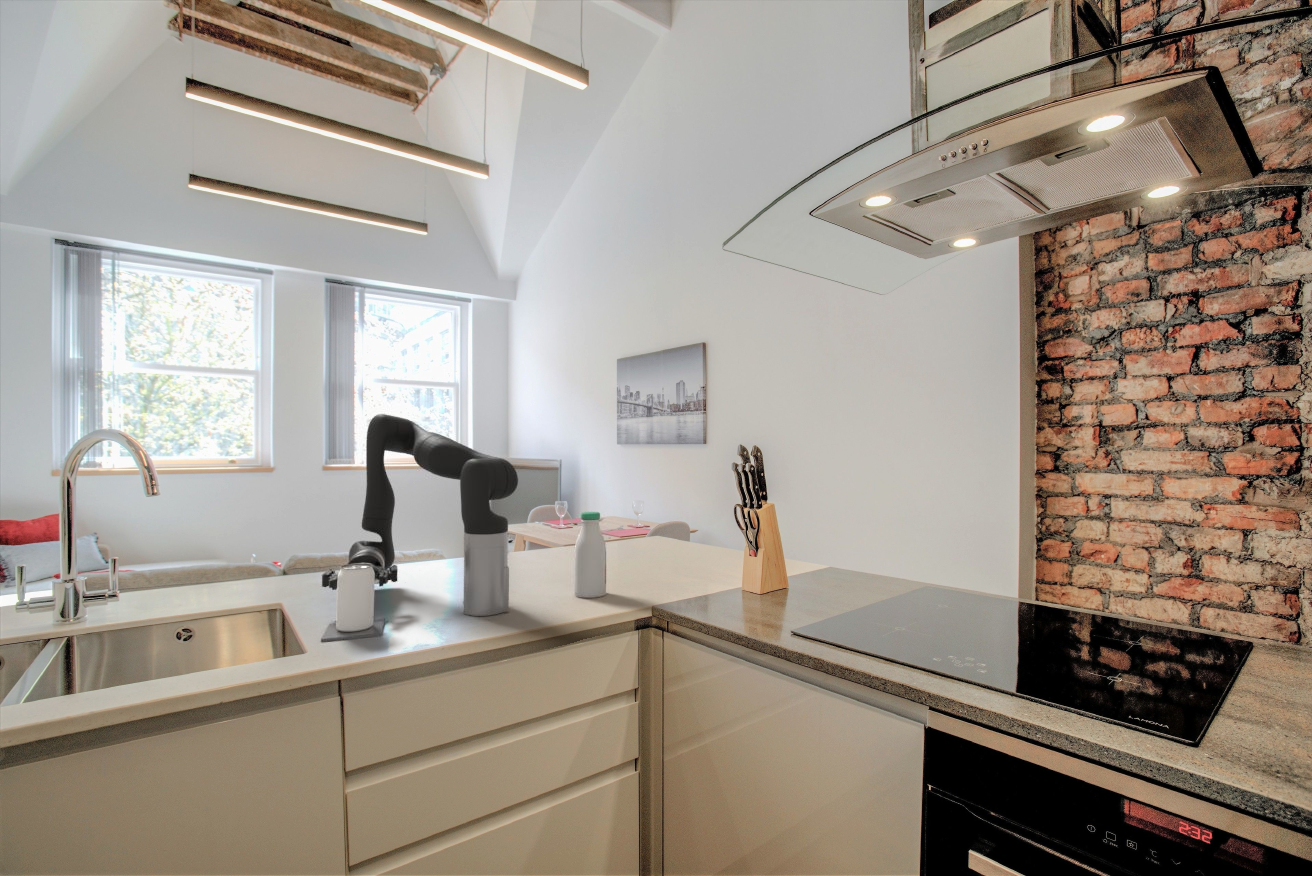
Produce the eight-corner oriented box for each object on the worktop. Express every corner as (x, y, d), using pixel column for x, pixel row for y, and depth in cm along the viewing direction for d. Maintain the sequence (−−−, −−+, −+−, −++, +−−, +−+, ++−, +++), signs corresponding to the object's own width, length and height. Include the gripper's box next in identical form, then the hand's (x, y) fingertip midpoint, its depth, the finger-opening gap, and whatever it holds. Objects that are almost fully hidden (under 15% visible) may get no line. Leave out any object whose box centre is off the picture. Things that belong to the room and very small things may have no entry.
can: (357, 634, 111) (359, 570, 111) (328, 631, 112) (329, 567, 113) (380, 624, 117) (382, 563, 118) (352, 621, 119) (354, 561, 119)
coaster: (384, 621, 121) (384, 618, 121) (380, 635, 112) (380, 633, 112) (329, 626, 118) (329, 623, 118) (320, 641, 108) (320, 639, 108)
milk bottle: (604, 598, 140) (604, 514, 140) (571, 598, 140) (572, 514, 140) (607, 591, 147) (607, 510, 148) (576, 590, 148) (577, 510, 148)
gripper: (330, 553, 132) (318, 566, 117) (399, 549, 137) (396, 562, 122) (330, 586, 132) (317, 605, 117) (399, 581, 137) (396, 598, 122)
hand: (357, 583), depth 119 cm, fingers open, 8 cm apart
